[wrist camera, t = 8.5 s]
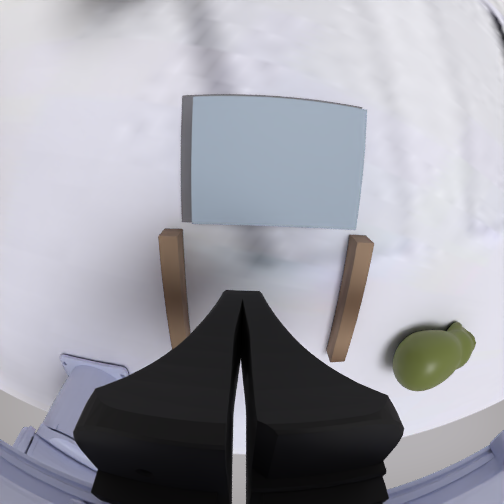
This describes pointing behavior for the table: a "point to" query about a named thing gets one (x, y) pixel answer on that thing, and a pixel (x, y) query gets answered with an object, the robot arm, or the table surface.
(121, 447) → the robot arm
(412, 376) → the pear
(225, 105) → the block
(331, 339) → the chute
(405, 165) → the table surface
